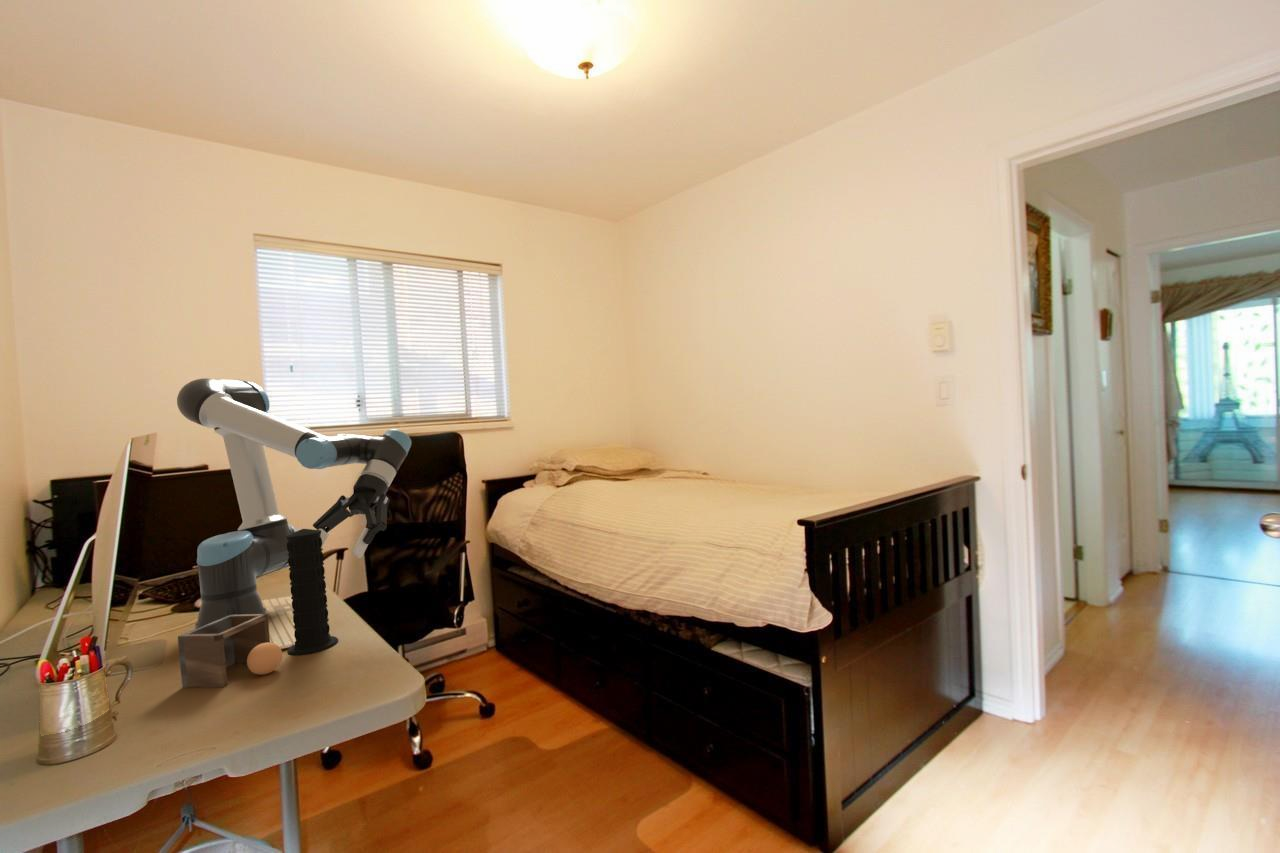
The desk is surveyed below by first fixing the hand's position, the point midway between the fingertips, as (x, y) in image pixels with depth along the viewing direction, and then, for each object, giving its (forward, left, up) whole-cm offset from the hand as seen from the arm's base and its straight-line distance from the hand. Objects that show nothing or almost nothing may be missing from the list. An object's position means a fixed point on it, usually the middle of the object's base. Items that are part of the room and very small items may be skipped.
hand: (332, 555), depth 135 cm
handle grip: (+5, -2, -19) cm, 20 cm away
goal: (+19, -11, -19) cm, 29 cm away
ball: (+19, -3, -16) cm, 25 cm away
